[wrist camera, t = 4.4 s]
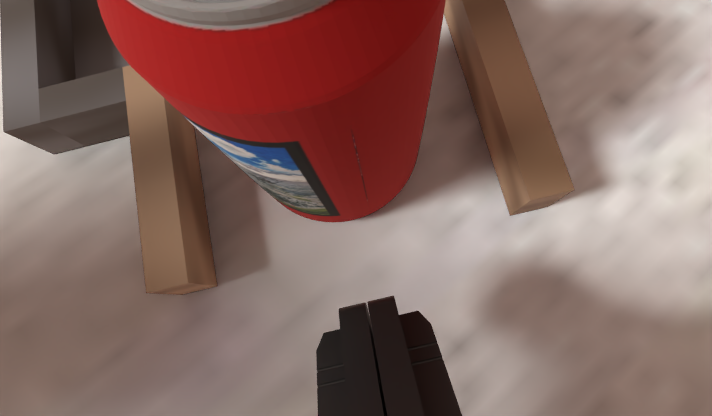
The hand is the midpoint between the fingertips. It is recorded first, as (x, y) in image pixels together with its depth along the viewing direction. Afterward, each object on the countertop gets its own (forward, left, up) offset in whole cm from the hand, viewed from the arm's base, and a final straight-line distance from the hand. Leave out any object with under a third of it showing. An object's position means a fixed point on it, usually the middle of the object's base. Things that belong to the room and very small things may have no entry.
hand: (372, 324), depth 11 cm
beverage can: (-4, +6, -5) cm, 9 cm away
